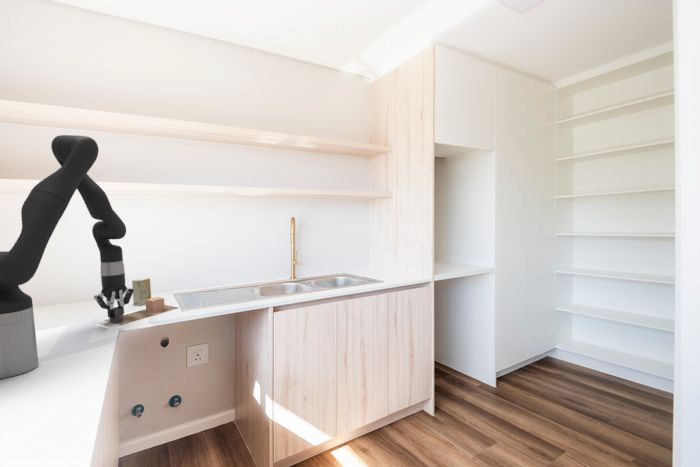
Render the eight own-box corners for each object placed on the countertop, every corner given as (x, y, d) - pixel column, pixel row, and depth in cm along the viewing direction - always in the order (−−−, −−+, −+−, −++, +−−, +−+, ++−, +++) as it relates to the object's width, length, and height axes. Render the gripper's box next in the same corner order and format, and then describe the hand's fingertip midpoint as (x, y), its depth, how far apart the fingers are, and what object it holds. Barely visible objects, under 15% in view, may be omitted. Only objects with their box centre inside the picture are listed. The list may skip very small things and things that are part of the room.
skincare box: (141, 307, 156) (139, 280, 155) (133, 307, 156) (131, 280, 155) (152, 303, 162) (150, 277, 161) (144, 303, 163) (142, 277, 162)
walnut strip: (121, 327, 130) (120, 311, 130) (104, 322, 136) (103, 307, 136) (179, 309, 151) (178, 296, 151) (162, 306, 157) (161, 293, 156)
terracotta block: (153, 312, 144) (152, 301, 144) (146, 311, 147) (145, 299, 146) (164, 309, 149) (163, 298, 148) (157, 308, 151) (156, 296, 151)
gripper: (97, 277, 125) (101, 324, 126) (137, 270, 137) (140, 313, 139) (87, 275, 129) (90, 321, 130) (126, 269, 141) (129, 311, 142)
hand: (116, 317), depth 134 cm, fingers closed on walnut strip, 2 cm apart
